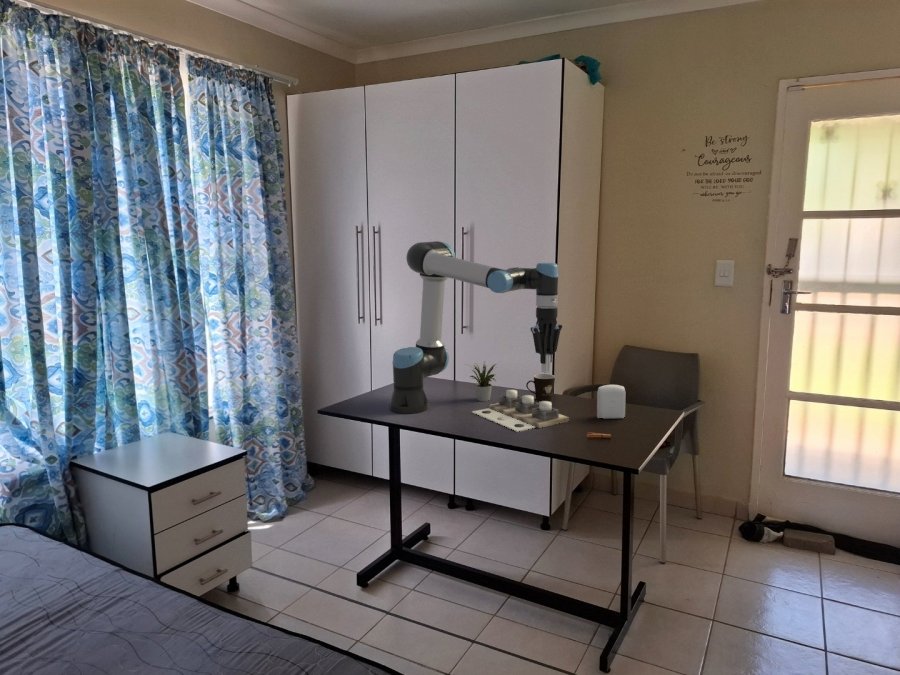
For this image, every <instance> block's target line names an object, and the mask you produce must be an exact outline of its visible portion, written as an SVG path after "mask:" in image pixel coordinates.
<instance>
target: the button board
mask: <svg viewBox="0 0 900 675" xmlns="http://www.w3.org/2000/svg"><path fill="white" fill-rule="evenodd" d="M489 408H491V409H493V410H496V411H498V412H501V413H503V414H506V415H508V416H510V417H513V418H515V419H518V420H520V421H523V422H525V423H528V424H530V425H533V426H535V428H538V429H542V427H543V428H546V427H551V426H555V424H556V425H560V424H564V423H568V421H569V422H570V417H569V416H566V415H563V414H561V413H560V410H559V409H557V408H554V407H552V411H548V412H542V411H540V410H539V402H538V401H534V404H533V405H529V406H526V405H523V404H522V396H520V395H517V399H512V400H510V399H507V398H506V395H501V396H499V400H498V402H496V403H490V404H489ZM559 423H560V424H559Z"/></svg>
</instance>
